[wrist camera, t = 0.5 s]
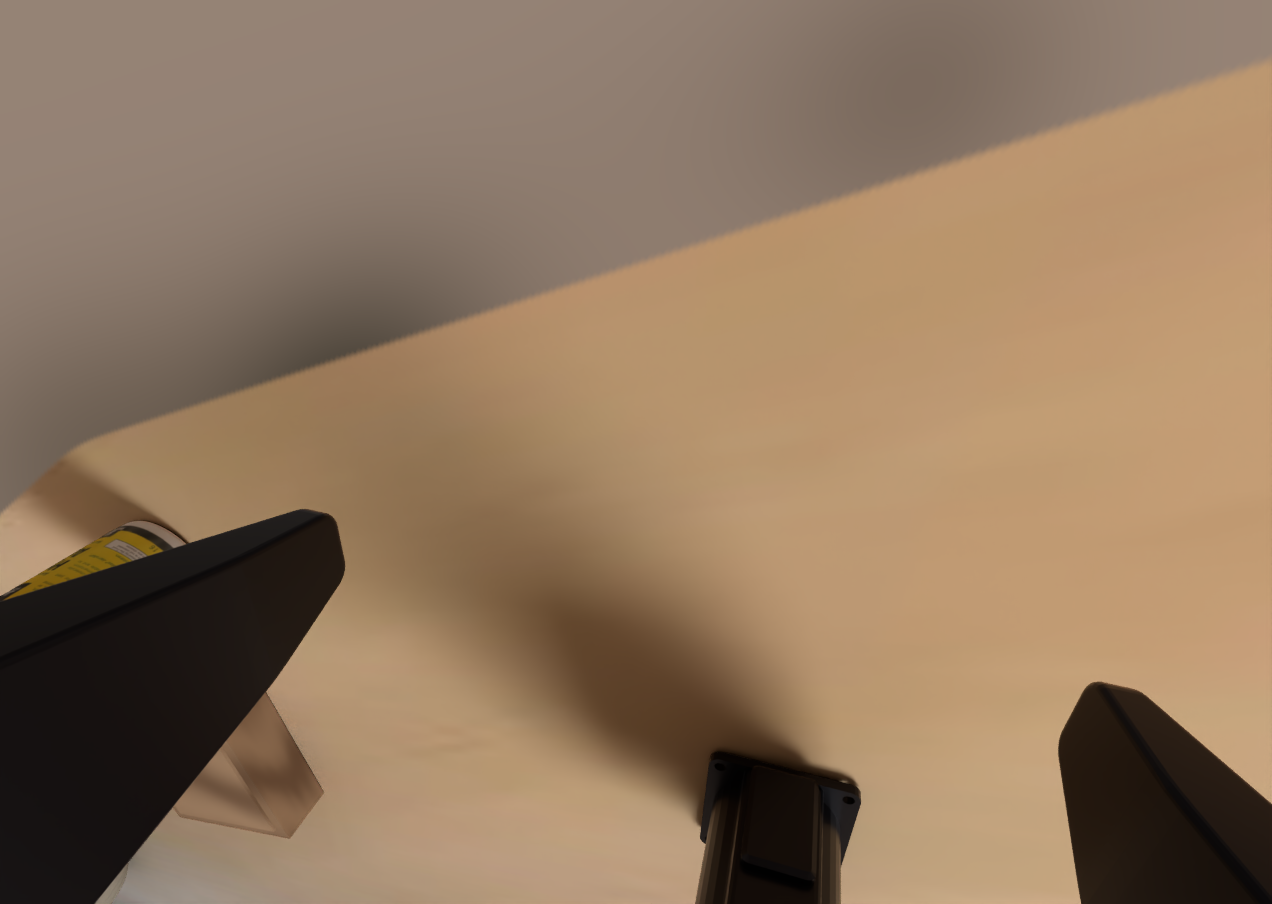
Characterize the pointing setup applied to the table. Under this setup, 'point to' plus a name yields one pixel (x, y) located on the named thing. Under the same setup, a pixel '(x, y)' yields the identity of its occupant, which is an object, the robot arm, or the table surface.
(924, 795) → the table surface
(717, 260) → the table surface
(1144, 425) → the table surface
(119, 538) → the supplement bottle
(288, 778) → the square wooden block
